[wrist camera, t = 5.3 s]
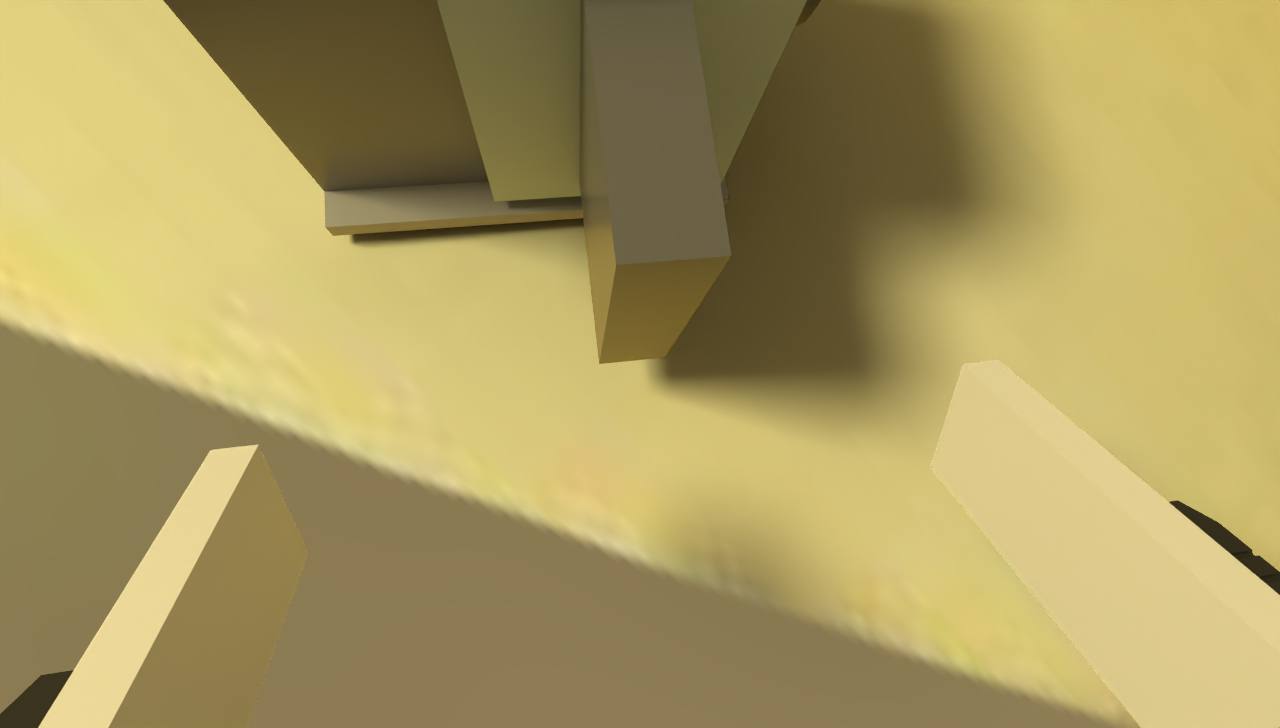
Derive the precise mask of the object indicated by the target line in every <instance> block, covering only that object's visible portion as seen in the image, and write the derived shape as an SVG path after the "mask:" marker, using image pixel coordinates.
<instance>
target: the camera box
mask: <svg viewBox="0 0 1280 728" xmlns="http://www.w3.org/2000/svg"><path fill="white" fill-rule="evenodd" d="M164 2H165V3H166V4H167V5H168V6H169V8H170V9H171V10H172V11H173V12H174V13H175V15H176V16H177V17H178V18H179V19H180V21H181V22H182V23H183V24H184V25H185V26H186V28H187V29H188V30H189V31H190V32H191V34H192V35H193V36H194V37H195V38H196V40H197V41H198V42H199V43H200V44H201V45H202V47H203V48H204V49H205V50H206V51H207V53H208V54H209V55H210V56H211V57H212V58H213V60H214V61H215V62H216V63H217V64H218V66H219V67H220V68H221V69H222V70H223V72H224V73H225V74H226V75H227V76H228V77H229V79H230V80H231V81H232V82H233V83H234V85H235V86H236V87H237V88H238V89H239V90H240V92H241V93H242V94H243V95H244V96H245V98H246V99H247V100H248V101H249V102H250V104H251V105H252V106H253V107H254V108H255V109H256V111H257V112H258V113H259V114H260V115H261V117H262V118H263V119H264V120H265V121H266V123H267V124H268V125H269V126H270V127H271V128H272V130H273V131H274V132H275V133H276V134H277V136H278V137H279V138H280V139H281V140H282V141H283V143H284V144H285V145H286V146H287V147H288V149H289V150H290V151H291V152H292V153H293V155H294V156H295V157H296V158H297V159H298V160H299V162H300V163H301V164H302V165H303V166H304V168H305V169H306V170H307V171H308V172H309V173H310V175H311V176H312V177H313V178H314V179H315V181H316V182H317V183H318V184H319V185H320V187H321V188H322V189H323V190H324V191H325V226H326V228H327V229H328V230H329V231H330V233H331V234H332V235H333V236H335V235H350V234H364V233H378V232H392V231H407V230H421V229H435V228H449V227H464V226H478V225H492V224H506V223H520V222H535V221H549V220H563V219H577V218H583V211H582V202H581V196H573V197H558V198H543V199H528V200H513V201H498V202H494V198H493V195H492V191H491V188H490V184H489V181H488V177H487V174H486V170H485V167H484V163H483V160H482V156H481V153H480V149H479V146H478V142H477V139H476V135H475V132H474V128H473V125H472V121H471V118H470V114H469V111H468V107H467V104H466V100H465V97H464V93H463V90H462V86H461V83H460V79H459V76H458V72H457V69H456V65H455V62H454V59H453V55H452V52H451V48H450V45H449V41H448V38H447V34H446V31H445V27H444V24H443V20H442V17H441V13H440V10H439V6H438V3H437V0H164ZM819 2H820V0H807V1H806V3H805V6H804V8H803V10H802V12H801V14H800V16H799V18H798V21H797V23H796V25H795V27H796V26H799V25H800V24H802V23H803V22H805V21H806V20H807V19H808V17H809V16H810V15H811V14H812V13H813V11H814V10H815V8H816V7H817V5H818V4H819ZM721 191H722V197H723V204H724V208H725V207H726V205H727V203H728V201H729V195H728V188H727V182H726V176H725V177H724V179H723V181H722V183H721Z"/></svg>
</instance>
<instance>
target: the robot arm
mask: <svg viewBox="0 0 1280 728" xmlns="http://www.w3.org/2000/svg"><path fill="white" fill-rule="evenodd" d="M930 468H931V469H932V470H933V471H934V473H935V474H936V475H937V476H938V478H939V479H940V480H941V481H942V483H943V484H944V485H945V486H946V488H947V489H948V490H949V491H950V492H951V494H952V495H953V496H954V497H955V499H956V500H957V501H958V502H959V504H960V505H961V506H962V507H963V509H964V510H965V511H966V512H967V513H968V515H969V516H970V517H971V518H972V520H973V521H974V522H975V523H976V525H977V526H978V527H979V528H980V530H981V531H982V532H983V533H984V535H985V536H986V537H987V538H988V539H989V541H990V542H991V543H992V544H993V546H994V547H995V548H996V549H997V551H998V552H999V553H1000V554H1001V556H1002V557H1003V558H1004V559H1005V560H1006V562H1007V563H1008V564H1009V565H1010V567H1011V568H1012V569H1013V570H1014V572H1015V573H1016V574H1017V575H1018V577H1019V578H1020V579H1021V580H1022V581H1023V583H1024V584H1025V585H1026V586H1027V588H1028V589H1029V590H1030V591H1031V593H1032V594H1033V595H1034V596H1035V598H1036V599H1037V600H1038V601H1039V602H1040V604H1041V605H1042V606H1043V607H1044V609H1045V610H1046V611H1047V612H1048V614H1049V615H1050V616H1051V617H1052V619H1053V620H1054V621H1055V622H1056V623H1057V625H1058V626H1059V627H1060V628H1061V630H1062V631H1063V632H1064V633H1065V635H1066V636H1067V637H1068V638H1069V640H1070V641H1071V642H1072V643H1073V644H1074V646H1075V647H1076V648H1077V649H1078V651H1079V652H1080V653H1081V654H1082V656H1083V657H1084V658H1085V659H1086V661H1087V662H1088V663H1089V664H1090V666H1091V667H1092V668H1093V669H1094V670H1095V672H1096V673H1097V674H1098V675H1099V677H1100V678H1101V679H1102V680H1103V682H1104V683H1105V684H1106V685H1107V687H1108V688H1109V689H1110V690H1111V691H1112V693H1113V694H1114V695H1115V696H1116V698H1117V699H1118V700H1119V701H1120V703H1121V704H1122V705H1123V706H1124V708H1125V709H1126V710H1127V711H1128V712H1129V714H1130V715H1131V716H1132V717H1133V719H1134V720H1135V721H1136V722H1137V724H1138V725H1139V726H1140V727H1141V728H1280V572H1279V571H1278V570H1276V569H1275V568H1274V567H1273V566H1271V565H1270V564H1269V563H1268V562H1267V561H1265V560H1264V559H1263V558H1262V557H1260V556H1255V555H1253V553H1252V549H1250V548H1249V547H1248V546H1247V545H1245V544H1244V543H1243V542H1242V541H1240V540H1239V539H1238V538H1237V537H1236V536H1234V535H1233V534H1232V533H1231V532H1229V531H1228V530H1227V529H1226V528H1224V527H1223V526H1222V525H1221V524H1219V523H1218V522H1216V521H1214V520H1213V519H1211V518H1209V517H1207V516H1205V515H1203V514H1202V513H1200V512H1198V511H1196V510H1194V509H1192V508H1191V507H1189V506H1187V505H1185V504H1183V503H1181V502H1180V501H1172V502H1168V501H1167V500H1165V499H1164V498H1163V497H1162V496H1161V495H1159V494H1158V493H1157V492H1156V491H1155V490H1153V489H1152V488H1151V487H1150V486H1149V485H1147V484H1146V483H1145V482H1144V481H1143V480H1142V479H1140V478H1139V477H1138V476H1137V475H1136V474H1134V473H1133V472H1132V471H1131V470H1130V469H1128V468H1127V467H1126V466H1125V465H1124V464H1122V463H1121V462H1120V461H1119V460H1118V459H1116V458H1115V457H1114V456H1113V455H1112V454H1110V453H1109V452H1108V451H1107V450H1106V449H1104V448H1103V447H1102V446H1101V445H1100V444H1099V443H1097V442H1096V441H1095V440H1094V439H1093V438H1091V437H1090V436H1089V435H1088V434H1087V433H1085V432H1084V431H1083V430H1082V429H1081V428H1079V427H1078V426H1077V425H1076V424H1075V423H1073V422H1072V421H1071V420H1070V419H1069V418H1067V417H1066V416H1065V415H1064V414H1063V413H1061V412H1060V411H1059V410H1058V409H1057V408H1055V407H1054V406H1053V405H1052V404H1051V403H1050V402H1048V401H1047V400H1046V399H1045V398H1044V397H1042V396H1041V395H1040V394H1039V393H1038V392H1036V391H1035V390H1034V389H1033V388H1032V387H1030V386H1029V385H1028V384H1027V383H1026V382H1024V381H1023V380H1022V379H1021V378H1020V377H1018V376H1017V375H1016V374H1015V373H1014V372H1012V371H1011V370H1010V369H1009V368H1008V367H1007V366H1005V365H1004V364H1003V363H1002V362H1001V361H999V360H991V361H982V362H974V363H965V364H963V365H962V368H961V372H960V375H959V378H958V381H957V384H956V387H955V390H954V394H953V397H952V400H951V403H950V406H949V409H948V412H947V416H946V419H945V422H944V425H943V428H942V431H941V434H940V438H939V441H938V444H937V447H936V450H935V453H934V456H933V460H932V463H931V466H930ZM307 555H308V550H307V547H306V545H305V543H304V541H303V539H302V537H301V535H300V532H299V530H298V528H297V526H296V524H295V522H294V520H293V517H292V515H291V513H290V511H289V509H288V507H287V505H286V503H285V500H284V498H283V496H282V494H281V492H280V490H279V487H278V485H277V483H276V481H275V479H274V477H273V475H272V472H271V470H270V468H269V466H268V464H267V462H266V460H265V457H264V456H263V453H262V451H261V449H260V447H259V445H251V446H242V447H234V448H225V449H216V450H210V452H209V454H208V455H207V457H206V458H205V460H204V462H203V463H202V465H201V466H200V468H199V470H198V471H197V473H196V474H195V476H194V478H193V479H192V481H191V483H190V484H189V486H188V487H187V489H186V491H185V492H184V494H183V495H182V497H181V499H180V500H179V502H178V503H177V505H176V507H175V508H174V510H173V511H172V513H171V515H170V516H169V518H168V520H167V521H166V523H165V524H164V526H163V528H162V529H161V531H160V532H159V534H158V536H157V537H156V539H155V541H154V542H153V544H152V545H151V547H150V548H149V550H148V552H147V553H146V555H145V557H144V558H143V560H142V562H141V563H140V565H139V566H138V568H137V569H136V571H135V573H134V574H133V576H132V577H131V579H130V581H129V582H128V584H127V585H126V587H125V589H124V590H123V592H122V594H121V595H120V597H119V598H118V600H117V602H116V603H115V605H114V606H113V608H112V610H111V611H110V613H109V614H108V616H107V618H106V619H105V621H104V622H103V624H102V626H101V627H100V629H99V631H98V632H97V634H96V635H95V637H94V639H93V640H92V642H91V643H90V645H89V647H88V648H87V650H86V652H85V653H84V655H83V656H82V658H81V659H80V661H79V663H78V664H77V666H76V668H75V669H74V670H73V671H66V672H59V673H53V674H46V675H41V676H40V677H39V678H38V679H37V680H36V681H35V682H34V683H33V684H32V685H31V686H30V687H28V688H27V689H26V690H25V691H24V692H23V693H22V694H21V695H20V696H19V697H18V698H17V699H16V700H15V701H14V702H13V703H12V704H11V705H9V706H8V707H7V708H6V709H5V710H4V711H3V712H2V713H1V714H0V728H247V727H248V724H249V721H250V718H251V715H252V712H253V709H254V707H255V704H256V701H257V698H258V695H259V692H260V690H261V687H262V683H263V681H264V678H265V675H266V672H267V669H268V667H269V663H270V661H271V658H272V655H273V652H274V650H275V647H276V644H277V641H278V638H279V635H280V632H281V630H282V627H283V624H284V621H285V618H286V615H287V612H288V610H289V607H290V604H291V601H292V598H293V595H294V592H295V590H296V587H297V584H298V581H299V578H300V575H301V573H302V569H303V567H304V564H305V561H306V558H307Z"/></svg>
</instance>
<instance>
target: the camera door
mask: <svg viewBox="0 0 1280 728" xmlns="http://www.w3.org/2000/svg"><path fill="white" fill-rule="evenodd" d="M806 1H807V0H437V3H438V6H439V10H440V13H441V17H442V20H443V24H444V27H445V31H446V34H447V38H448V41H449V45H450V48H451V52H452V55H453V59H454V62H455V65H456V69H457V72H458V76H459V79H460V83H461V86H462V90H463V93H464V97H465V100H466V104H467V107H468V111H469V114H470V118H471V121H472V125H473V128H474V132H475V135H476V139H477V142H478V146H479V149H480V153H481V156H482V160H483V163H484V167H485V170H486V174H487V177H488V181H489V184H490V188H491V191H492V195H493V198H494V202H498V201H513V200H528V199H543V198H558V197H573V196H581V202H582V211H583V220H584V230H585V239H586V248H587V257H588V266H589V275H590V284H591V293H592V302H593V311H594V320H595V330H596V339H597V348H598V357H599V364H603V363H613V362H623V361H633V360H643V359H653V358H663V357H666V355H667V354H668V352H669V351H670V349H671V348H672V346H673V345H674V343H675V341H676V340H677V338H678V337H679V335H680V334H681V332H682V331H683V329H684V328H685V326H686V325H687V323H688V322H689V320H690V319H691V317H692V316H693V314H694V312H695V311H696V309H697V308H698V306H699V305H700V303H701V302H702V300H703V299H704V297H705V296H706V294H707V293H708V291H709V290H710V288H711V287H712V285H713V283H714V282H715V280H716V279H717V277H718V276H719V274H720V273H721V271H722V270H723V268H724V267H725V265H726V264H727V262H728V261H729V259H730V258H731V256H732V255H731V248H730V242H729V236H728V229H727V223H726V216H725V210H724V204H723V197H722V191H721V183H722V181H723V179H724V177H725V175H726V172H727V170H728V168H729V166H730V164H731V162H732V160H733V157H734V155H735V153H736V151H737V149H738V147H739V145H740V142H741V140H742V138H743V136H744V134H745V132H746V130H747V128H748V125H749V123H750V121H751V119H752V117H753V115H754V113H755V110H756V108H757V106H758V104H759V102H760V100H761V98H762V95H763V93H764V91H765V89H766V87H767V85H768V83H769V80H770V78H771V76H772V74H773V72H774V70H775V68H776V65H777V63H778V61H779V59H780V57H781V55H782V53H783V51H784V48H785V46H786V44H787V42H788V40H789V38H790V36H791V33H792V31H793V29H794V27H795V25H796V23H797V21H798V18H799V16H800V14H801V12H802V10H803V8H804V6H805V3H806Z"/></svg>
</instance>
